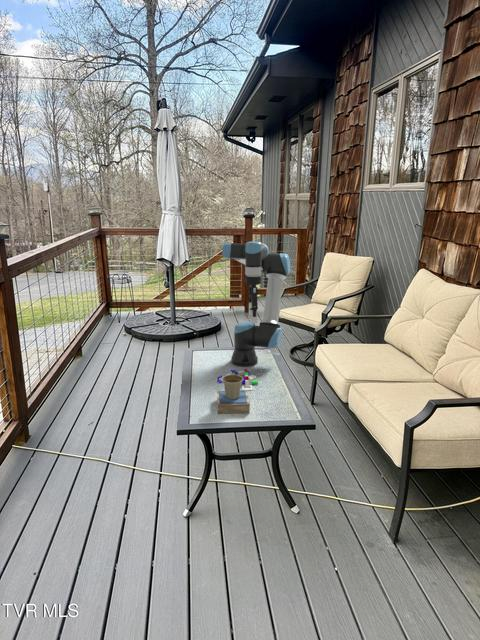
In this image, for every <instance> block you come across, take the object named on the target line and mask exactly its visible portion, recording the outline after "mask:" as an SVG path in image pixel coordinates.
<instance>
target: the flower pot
mask: <svg viewBox="0 0 480 640" xmlns="http://www.w3.org/2000/svg"><path fill="white" fill-rule="evenodd" d="M223 376H224V377H223V378H222V381H223V382H222V384H223V387H224V391H225V394H226V397H227V398H229V399H236V398H239V396H240V390H242V384H241V383H242V381H243V380H244V379H243V377H242V376H241V375H227V374H226V375H223Z"/></svg>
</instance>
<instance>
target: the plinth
mask: <svg viewBox="0 0 480 640" xmlns="http://www.w3.org/2000/svg"><path fill="white" fill-rule="evenodd" d="M248 392H249V391H247V390H242V389H241V390H240V396H239V398H236V399H229V398H227V397H226V394H225V390H217V391H216V399H217V400H216V402H217V405H216V406H217V407H216V408H217V415H247V414H250V411H251V410H250V407H251V406H250V398H249V394H248Z"/></svg>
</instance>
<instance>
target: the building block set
mask: <svg viewBox="0 0 480 640" xmlns="http://www.w3.org/2000/svg"><path fill="white" fill-rule="evenodd" d="M226 375H239V376H242V377H243V381H242V383H241V390H247V392H249V391H250V392H252V391H253V385H254V386H258V385H259V384H258V383H259V380H257V379H256V378H257V376H256V375H253V374H251V375H250V370H248V369H247V368H244V369H243V370H241V371H240V370H239V371H238V370H237V371H236V369H231V370H230V373H228V372H227V373H226ZM224 376H225V375H219V376H217V381H216V382H217V383H218V384H223V381H222V378H223V377H224Z"/></svg>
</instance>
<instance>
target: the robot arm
mask: <svg viewBox="0 0 480 640" xmlns="http://www.w3.org/2000/svg"><path fill="white" fill-rule="evenodd" d="M221 250H222V251H221V253H222V257H223V258H224V259H232V260H234V261H237V262H239V263H241V264H242V265H244V271H245V272H244V274H245V276H244V278H245V279H244V281H245V284H246V285H249V287H248V316H250V321H243V322H238V323H236V324H235V325H234V330H233V331H234V332H233V334H234V335H233V336H234V337H233V339H234V342H233V343H234V348H233V352H232V356H231V364H232V365H234V366H237V367H253V366H255V365H257V364H258V361H259V360H258V359H259V358H258V356H257V352H256V349H255V347H258V348H266V349H277V348H278V347H279V346H280V344H281V342H282V338H283V332H284V331H283V328H282V327H281V324H280V323H279V317H280V310H281V308H280V307H281V302H282V291H283V285H284V284H283V283H284V280H286V279H287V276H288V275H290V273H291V259H290V256H289V255H288V253H281V252H280V253H279V252H278V253H277V252H276V253H275V252H270V248H269V247H268V245H267V244H265V243H262V242H260V241H247V242H245V243H235V242H234V243H232V242H229V243H228V242H227V243H224V244H223V246H222V249H221ZM262 274H265V277H266V278H267V284H266V292H265V293H266V294H265V301H264V306H263V307H264V308H263V315H262V320H261V321H260V322H259V325H256V324H258V309H259V307H258V305H259V304H258V302H259V301H258V292H259V291H258V290H259V288H258V287H257V286H258V285H261V284H262Z"/></svg>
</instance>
